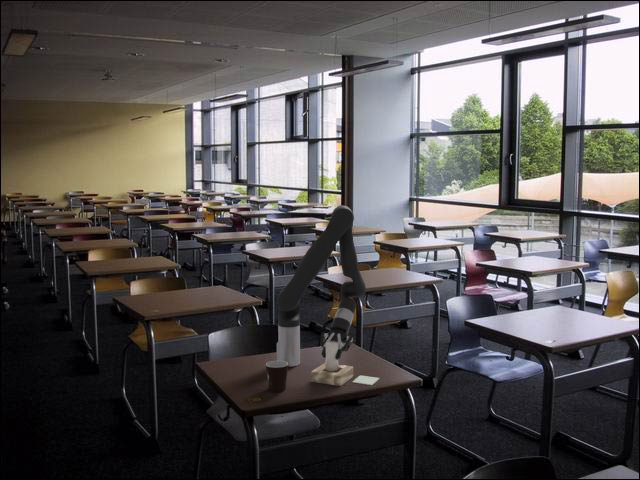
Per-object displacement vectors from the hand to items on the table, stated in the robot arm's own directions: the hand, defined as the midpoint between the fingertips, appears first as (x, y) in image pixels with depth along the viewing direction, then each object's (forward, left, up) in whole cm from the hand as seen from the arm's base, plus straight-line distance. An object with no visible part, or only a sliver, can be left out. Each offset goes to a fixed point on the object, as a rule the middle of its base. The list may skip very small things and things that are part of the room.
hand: (330, 357), depth 256 cm
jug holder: (0, +2, -9) cm, 9 cm away
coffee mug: (-15, -16, -9) cm, 24 cm away
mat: (+13, +5, -9) cm, 17 cm away
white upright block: (0, +1, -5) cm, 5 cm away
